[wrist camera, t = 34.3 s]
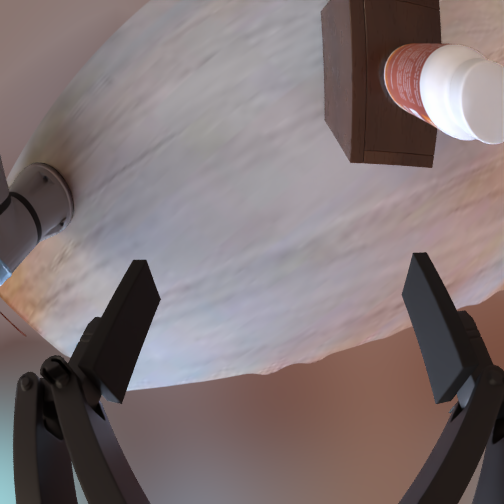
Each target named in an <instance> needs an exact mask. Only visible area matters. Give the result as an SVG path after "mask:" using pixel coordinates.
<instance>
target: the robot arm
mask: <svg viewBox="0 0 504 504" xmlns="http://www.w3.org/2000/svg"><path fill="white" fill-rule="evenodd" d="M72 216H73V199H72V195H71V192H70V190H69V188H68V186H67V184H66V182H65V180H64V179H63V178H62V176H61V175H60V174H59V173H58V172H57V171H56V170H55V169H53V168H52V167H50V166H48V165H46V164H43V163H33V164H31V165H29V166H27V167H26V168H24V169H23V170H22V171H21V172H20V173H19V174H18V176H17V177H16V179H15V180H14V182H13V183H12V185H11V186H10V188H9V189H8V185H7V181H6V177H5V173H4V169H3V165H2V161H1V156H0V286H1V285H2V284H3V283H4V282H5V281H6V280H7V279H8V278H9V277H11V275H12V273H13V272H14V270H15V269H16V268H17V267H18V266H19V264H20V263H21V262H22V261H23V260H24V259H25V258H26V256H27V255H28V254H29V253H30V252H31V251H32V250H33V249H34V247H35V246H36V245H37V244H38V243H39V242H40V241H42V240H45V239H47V238H49V237H51V236H54V235H56V234H58V233H60V232H61V231H62V230H64V229H65V228H66V227H67V226H68V224H69V223H70V221H71V219H72ZM402 297H403V300H404V302H405V305H406V308H407V311H408V313H409V316H410V319H411V322H412V325H413V328H414V331H415V333H416V337H417V340H418V343H419V346H420V349H421V353H422V356H423V359H424V363H425V366H426V369H427V373H428V376H429V380H430V384H431V387H432V391H433V395H434V399H435V403H436V404H439V403H443V402H448V401H451V400H452V399H453V398H454V396H455V395H456V394H457V396H458V400H459V401H458V402H457V403H456V404H455V405H454V406H453V408H452V409H451V410H450V412H449V413H451V412H452V411H453V412H452V414H451V416H450V418H449V420H448V422H447V424H446V426H445V428H444V430H443V432H442V434H441V436H440V438H439V440H438V441H437V443H436V445H435V447H434V449H433V450H432V452H431V454H430V456H429V458H428V459H427V461H426V463H425V464H424V466H423V468H422V469H421V471H420V472H419V474H418V475H417V477H416V479H415V480H414V482H413V483H412V485H411V486H410V488H409V489H408V491H407V492H406V493H405V495H404V496H403V498H402V499H401V501H400V502H399V503H398V504H458V502H459V500H460V499H461V497H462V495H463V493H464V491H465V489H466V488H467V486H468V484H469V482H470V480H471V478H472V476H473V474H474V472H475V469H476V467H477V465H478V463H479V461H480V459H481V456H482V454H483V452H484V449H485V447H486V450H485V455H484V460H483V464H482V469H481V473H480V477H479V481H478V485H477V488H476V492H475V496H474V499H473V502H472V504H504V371H503V370H502V369H501V368H500V367H499V366H496V365H493V363H492V361H491V358H490V356H489V353H488V351H487V348H486V346H485V344H484V342H483V339H482V337H481V336H480V333H479V331H478V330H477V326H476V324H475V322H474V320H473V318H472V317H471V316H470V315H469V314H468V313H467V312H466V311H457V310H456V308H455V306H454V304H453V302H452V300H451V298H450V296H449V294H448V292H447V290H446V288H445V286H444V284H443V282H442V280H441V278H440V276H439V274H438V272H437V271H436V269H435V267H434V265H433V263H432V262H431V260H430V258H429V256H428V254H427V253H426V252H424V253H413V255H412V259H411V263H410V267H409V270H408V274H407V278H406V281H405V285H404V289H403V292H402ZM160 300H161V299H160V296H159V294H158V291H157V288H156V286H155V283H154V280H153V277H152V275H151V272H150V269H149V266H148V263H147V260H133V261H132V263H131V265H130V267H129V268H128V270H127V272H126V273H125V275H124V277H123V279H122V280H121V282H120V284H119V286H118V288H117V289H116V291H115V293H114V295H113V297H112V298H111V300H110V302H109V304H108V306H107V308H106V310H105V312H104V313H103V315H102V317H95V318H94V319H93V320H92V321H91V322H90V323H89V324H88V325H87V327H86V329H85V331H84V333H83V335H82V337H81V339H80V342H78V344H77V346H76V348H75V350H74V352H73V354H72V356H71V358H70V361H69V363H67V362H66V361H65V360H64V358H62V357H61V356H56V355H55V356H51V357H49V358H48V359H46V360H45V362H44V363H43V364H42V366H41V369H40V374H41V375H42V376H43V378H39V377H38V376H37V375H36V374H35V373H33V372H27V373H25V374H23V375H22V376H21V377H20V379H19V381H18V383H17V388H16V398H15V412H14V431H13V432H14V433H13V460H14V461H13V462H14V482H15V494H16V504H78V502H77V497H76V491H75V485H74V479H73V471H72V463H73V466H74V469H75V472H76V474H77V477H78V480H79V482H80V485H81V487H82V490H83V492H84V494H85V497H86V499H87V501H88V504H150V502H149V501H148V499H147V497H146V495H145V494H144V492H143V490H142V488H141V486H140V485H139V483H138V481H137V479H136V477H135V475H134V473H133V472H132V470H131V468H130V466H129V464H128V462H127V460H126V458H125V456H124V454H123V451H122V449H121V447H120V445H119V443H118V441H117V438H116V436H115V434H114V432H113V429H112V427H111V425H110V422H109V420H108V418H107V415H106V413H105V410H104V408H103V405H102V403H101V402H100V397H101V395H103V396H104V397H105V399H106V400H107V401H111V402H115V403H120V404H122V401H123V399H124V396H125V392H126V390H127V387H128V384H129V381H130V379H131V376H132V373H133V370H134V367H135V365H136V362H137V359H138V356H139V354H140V351H141V348H142V346H143V343H144V340H145V338H146V335H147V333H148V330H149V327H150V325H151V322H152V320H153V317H154V315H155V312H156V310H157V307H158V305H159V302H160ZM486 444H487V445H486ZM71 461H72V463H71Z"/></svg>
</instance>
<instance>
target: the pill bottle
mask: <svg viewBox="0 0 504 504" xmlns="http://www.w3.org/2000/svg"><path fill="white" fill-rule="evenodd" d="M384 80H385V85H386V88H387V90H388V93H389V94H390V96H391V98H392V99H393V100H394V102H395V103H396V104H397V105H398V106H400V107H401V108H402V109H404V110H405V111H407V112H409V113H411V114H413V115H414V116H416V117H418V118H420V119H422V120H424V121H425V122H427V123H429V124H431V125H432V126H434V127H436V128H437V129H439V130H441V131H442V132H444V133H446V134H448V135H450V136H452V137H454V138H457V139H461V140H474V139H478V140H480V141H481V142H484V143H487V144H499V143H502V142H504V66H502V65H501V64H499V63H497V62H494V61H490V60H488V59H487V58H486V57H485V56H484V55H483V54H481V53H480V52H478V51H477V50H475V49H473V48H471V47H468V46H464V45H457V44H430V43H427V44H425V43H413V44H407V45H403V46H401V47H399V48H397V49H396V50H395V51H393V52H392V53H391V55H390V56H389V58H388V59H387V62H386V64H385V68H384Z"/></svg>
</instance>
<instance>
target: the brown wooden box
mask: <svg viewBox="0 0 504 504" xmlns="http://www.w3.org/2000/svg"><path fill="white" fill-rule="evenodd" d="M439 10H440V7H439V0H330V1H329V2H328V3H327V5H326V6H325V7H324V8H323V9H322V10H321V20H322V37H323V58H324V94H325V121H326V123H327V125H328V126H329V128H330V129H331V131H332V133H333V134H334V136H335V138H336V139H337V141H338V143H339V144H340V146H341V148H342V149H343V151H344V153H345V154H346V156H347V158H348V160H349V161H350V163H368V164H387V165H402V166H415V167H427V168H432V165H433V158H434V156H433V155H434V151H435V143H436V135H437V128H436V127H434V126H432V125H431V124H429V123H427V122H425V121H424V120H422V119H420V118H418V117H416V116H414V115H413V114H411V113H409V112H407V111H405V110H404V109H402V108H401V107H400V106H398V105H397V104H396V103H395V102H394V100H393V99H392V98H391V96H390V94H389V93H388V90H387V88H386V85H385V80H384V68H385V64H386V62H387V59H388V58H389V56H390V55H391V53H392V52H393V51H395V50H396V49H397V48H399V47H401V46H403V45H407V44H413V43H425V44H427V43H430V44H441V26H440V11H439Z"/></svg>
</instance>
